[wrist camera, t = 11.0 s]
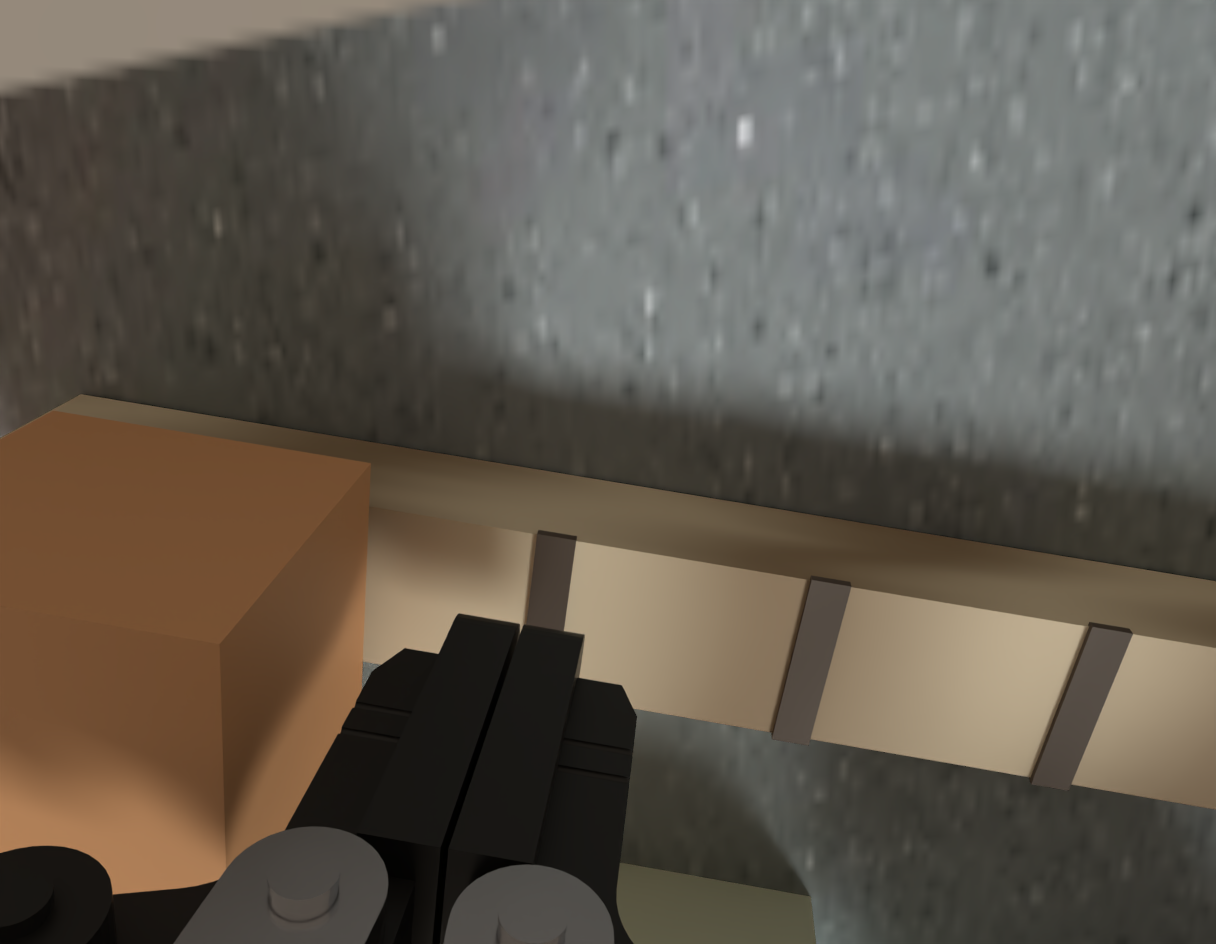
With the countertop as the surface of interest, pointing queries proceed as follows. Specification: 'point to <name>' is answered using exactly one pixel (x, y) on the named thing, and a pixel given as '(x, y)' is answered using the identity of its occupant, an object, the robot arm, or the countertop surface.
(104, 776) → the block
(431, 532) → the rail
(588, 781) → the robot arm
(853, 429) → the countertop surface
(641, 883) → the sage block
